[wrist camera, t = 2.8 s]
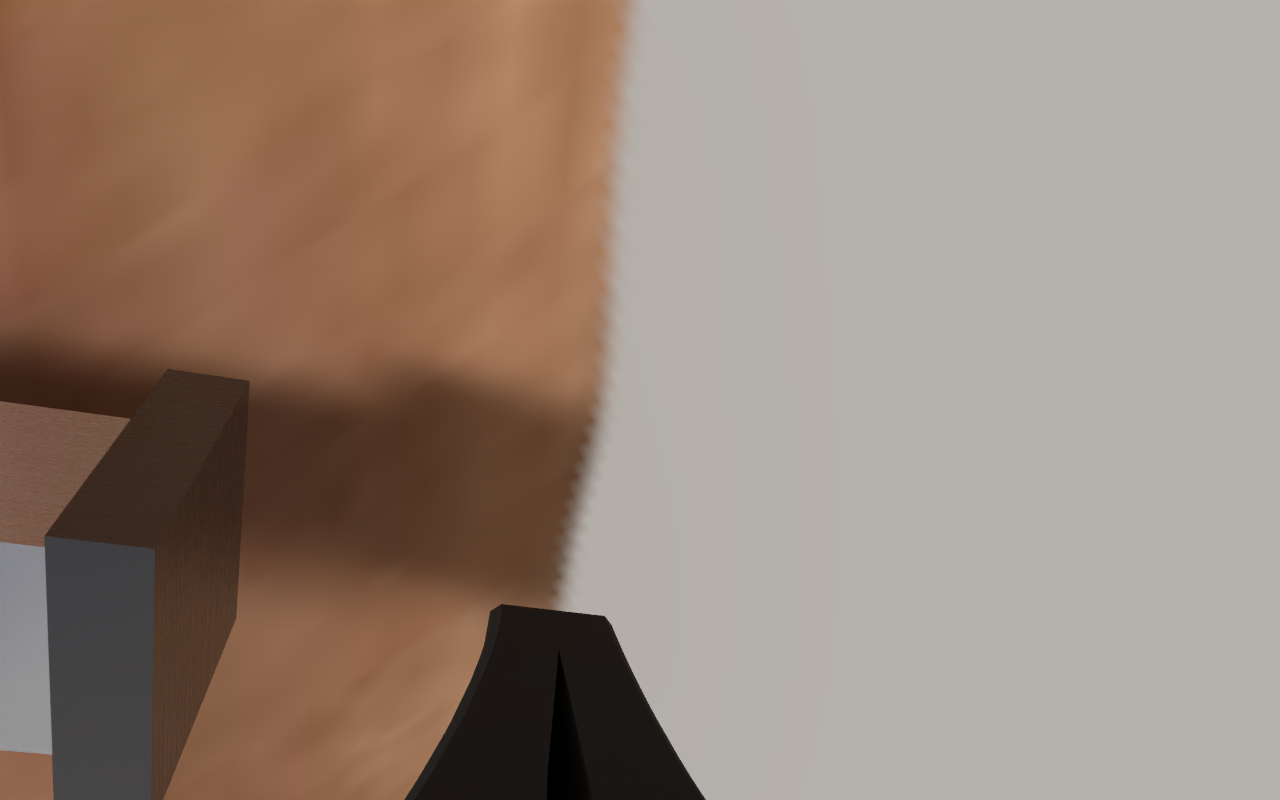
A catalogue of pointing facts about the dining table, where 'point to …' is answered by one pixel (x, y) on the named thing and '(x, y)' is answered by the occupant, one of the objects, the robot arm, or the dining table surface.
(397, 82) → the dining table surface
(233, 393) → the shaft
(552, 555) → the dining table surface
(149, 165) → the dining table surface
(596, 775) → the robot arm
